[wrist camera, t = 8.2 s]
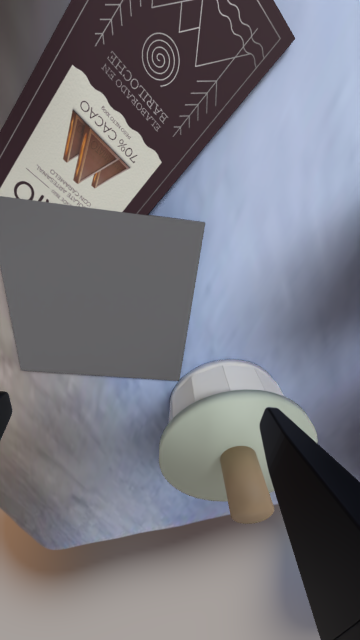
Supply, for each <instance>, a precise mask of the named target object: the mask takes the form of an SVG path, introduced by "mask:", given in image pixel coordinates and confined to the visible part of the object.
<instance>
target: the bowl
mask: <svg viewBox="0 0 360 640" xmlns="http://www.w3.org/2000/svg"><path fill="white" fill-rule="evenodd" d="M232 390H262V391H268V392H273V393H276V394H279V395H282V396H284V395H283V393H282V391H281V390H280V388H279V386H278V384H277V382H276V381H274V380H273V379H272V377H271V376H270V375H269V374H268V372H267V371H265V370H264V369H263V368H261V367H259V366H258V365H256V364H253V363H251V362H247V361H243V360H236V359H225V360H217V361H212V362H209V363H205V364H203V365H201V366H198V367H196V368H195V369H193V370H191V371H190V372H188V373H187V374H186V375H185V376H184V377H182V378H181V379H180V381H179V382H178V383H177V384H176V386H175V388H174V389H173V392H172V394H171V398H170V413H169V422H170V421H171V420H172V419H173V418H174V417H175V416H176V415H177V414H178V413H179V412H180V411H182V410H183V409H185V408H186V407H188V406H189V405H191V404H193V403H194V402H196V401H198V400H200V399H203V398H205V397H208V396H211V395H214V394H218V393H221V392H227V391H232Z"/></svg>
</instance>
